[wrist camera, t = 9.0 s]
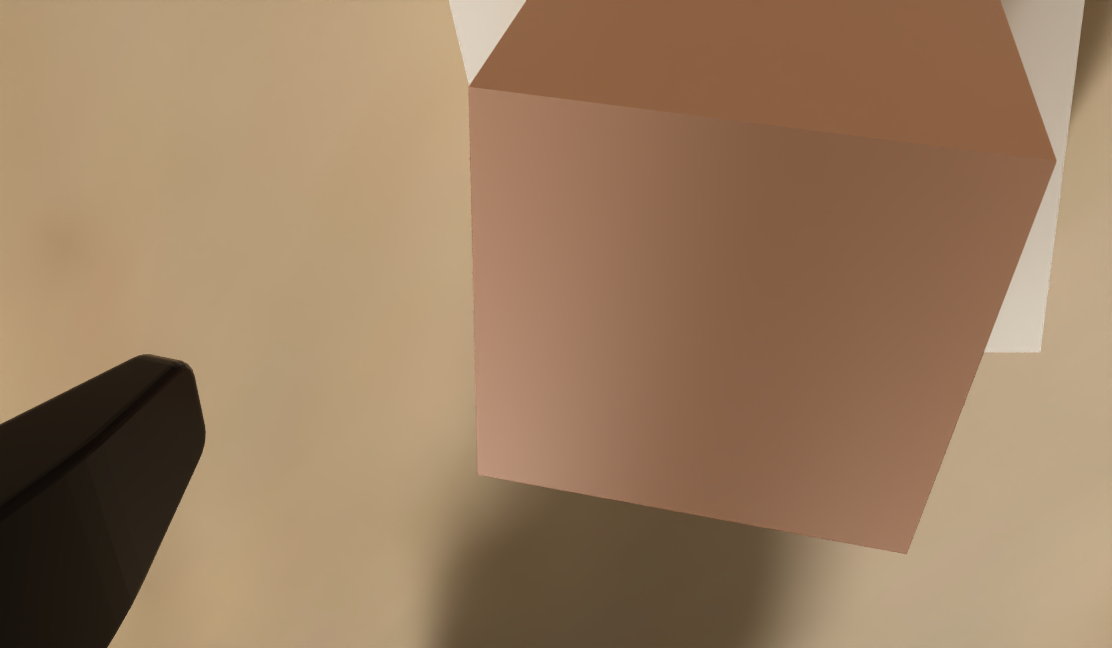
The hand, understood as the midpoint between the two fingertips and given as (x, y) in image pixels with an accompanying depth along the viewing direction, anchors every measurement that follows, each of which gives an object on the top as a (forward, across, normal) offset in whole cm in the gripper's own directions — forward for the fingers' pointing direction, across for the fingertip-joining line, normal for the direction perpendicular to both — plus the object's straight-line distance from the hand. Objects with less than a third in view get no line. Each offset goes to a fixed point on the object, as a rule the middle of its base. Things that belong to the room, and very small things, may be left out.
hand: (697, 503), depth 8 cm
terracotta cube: (+7, 0, 0) cm, 7 cm away
